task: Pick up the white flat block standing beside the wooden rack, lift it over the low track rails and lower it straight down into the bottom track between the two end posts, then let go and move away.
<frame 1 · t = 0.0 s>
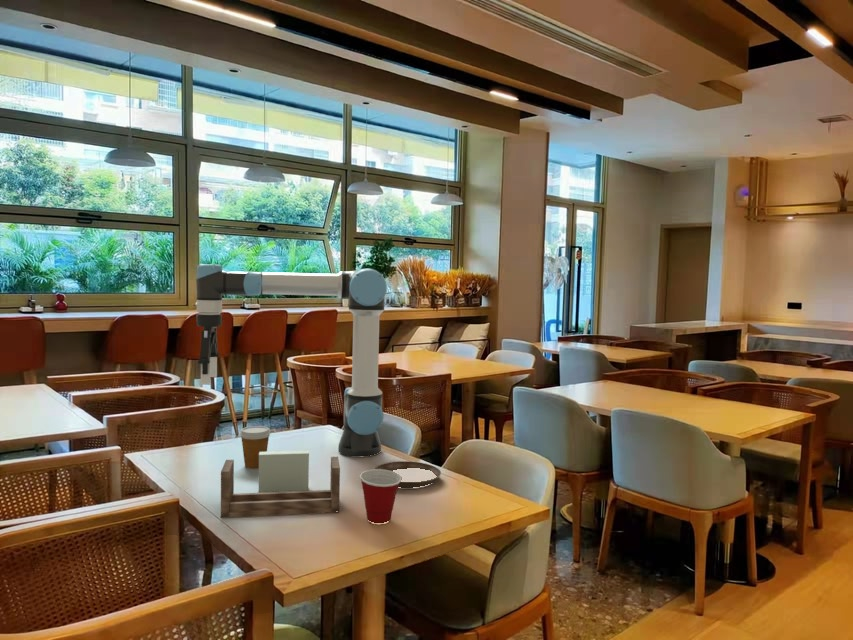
hand: (209, 380, 193), 28 cm above the table, tool pointing down, fingers open, 13 cm apart
wooden rack: (281, 507, 164), on the table
disposable coffee cup: (255, 466, 198), on the table
plastic cup: (379, 521, 157), on the table
white flat block: (283, 489, 177), on the table
plant saucer: (407, 481, 188), on the table
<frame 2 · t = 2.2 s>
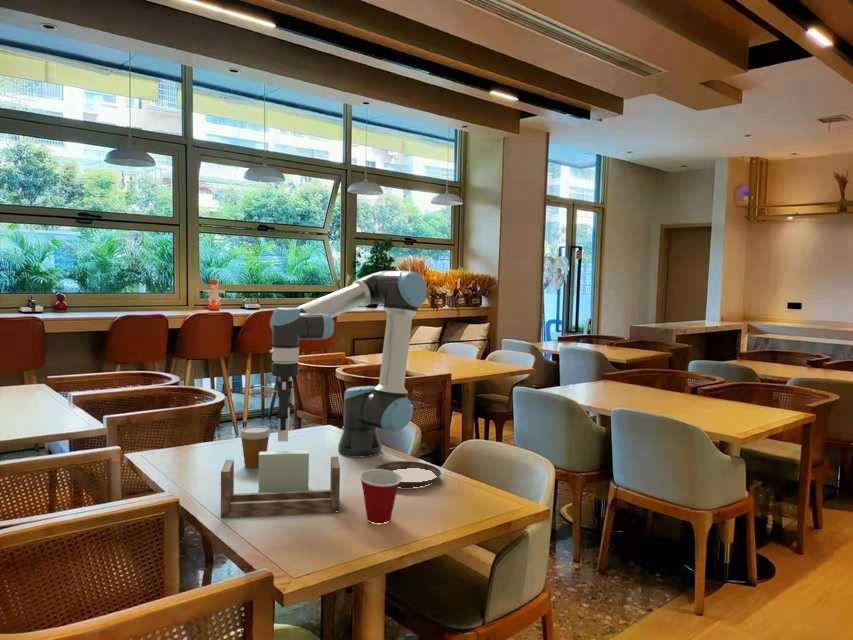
hand: (283, 434, 176), 16 cm above the table, tool pointing down, fingers open, 13 cm apart
nothing on the table moved.
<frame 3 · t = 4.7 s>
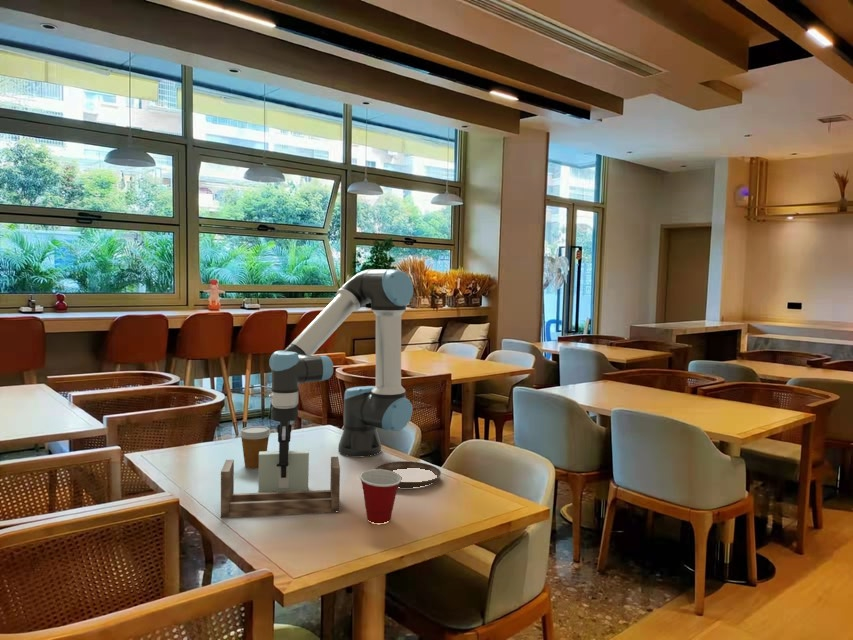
hand: (283, 485, 177), 1 cm above the table, tool pointing down, fingers closed on white flat block, 3 cm apart
white flat block: (283, 489, 177), on the table, touching gripper
everything else where it was.
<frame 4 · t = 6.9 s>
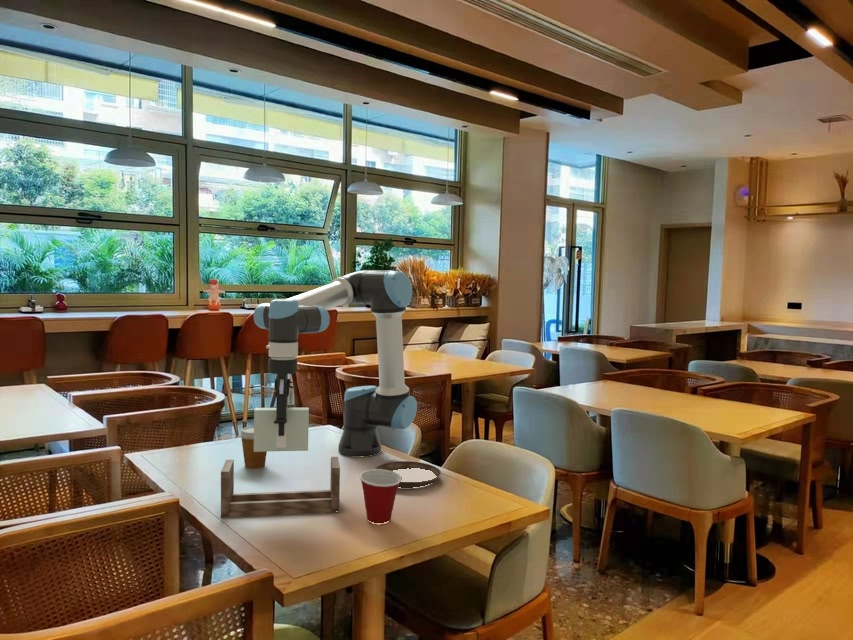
hand: (281, 445, 163), 17 cm above the table, tool pointing down, fingers closed on white flat block, 3 cm apart
white flat block: (281, 449, 163), point 16 cm above the table, touching gripper
everything else where it was.
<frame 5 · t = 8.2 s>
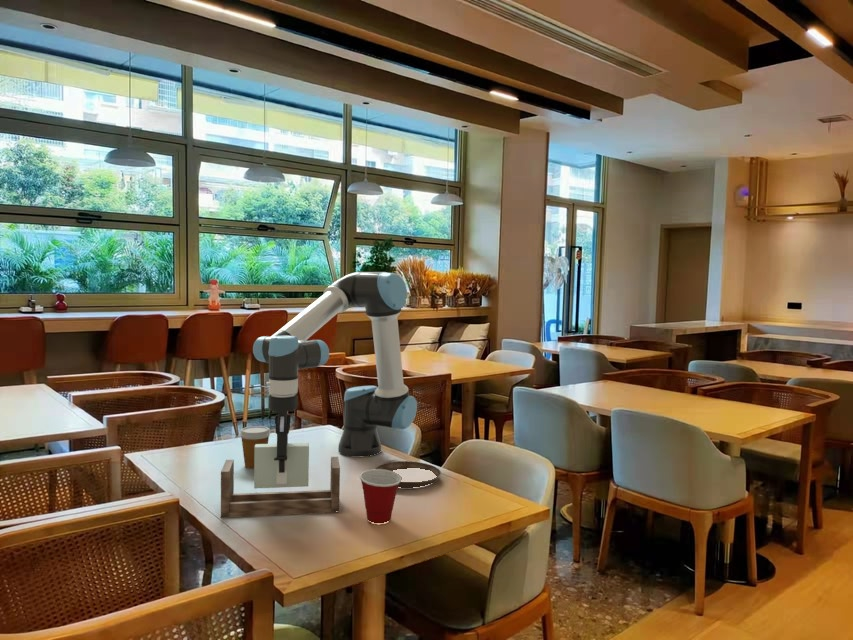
hand: (282, 481, 163), 7 cm above the table, tool pointing down, fingers closed on white flat block, 3 cm apart
white flat block: (281, 485, 163), point 6 cm above the table, touching gripper
everything else where it was.
when the fingers open (4 cm above the table, at t = 9.3 s): white flat block drops 2 cm, resting on wooden rack.
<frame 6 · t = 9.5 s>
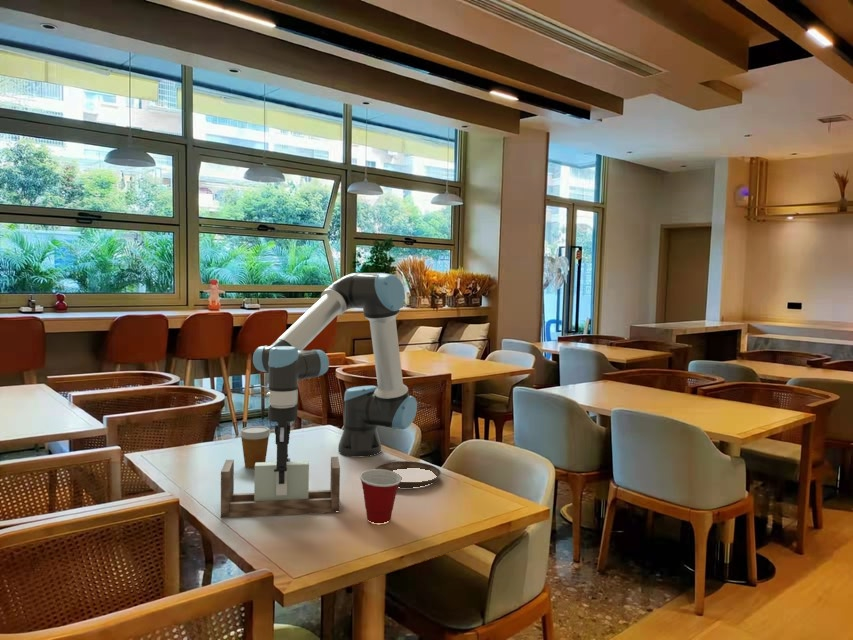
hand: (282, 490, 163), 5 cm above the table, tool pointing down, fingers open, 5 cm apart
white flat block: (281, 503, 164), point 1 cm above the table, touching wooden rack
everything else where it was.
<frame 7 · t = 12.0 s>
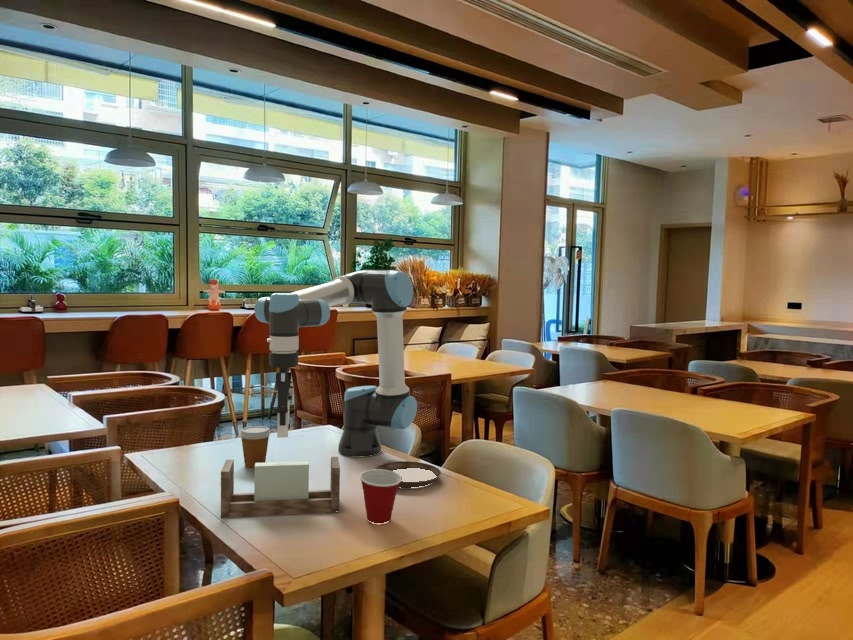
hand: (283, 430, 163), 21 cm above the table, tool pointing down, fingers open, 13 cm apart
nothing on the table moved.
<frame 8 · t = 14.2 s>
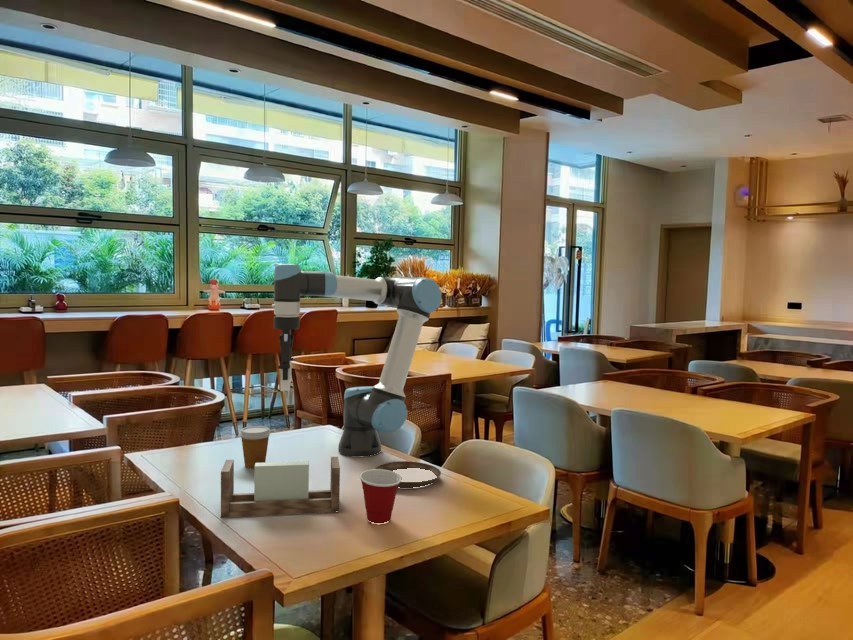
hand: (285, 386, 183), 29 cm above the table, tool pointing down, fingers open, 13 cm apart
nothing on the table moved.
at the end: white flat block inside the target area on the wooden rack (0.1 cm from its centre), point 1.0 cm above the wooden rack's base; white flat block tilted 0°; the gripper is holding nothing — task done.
